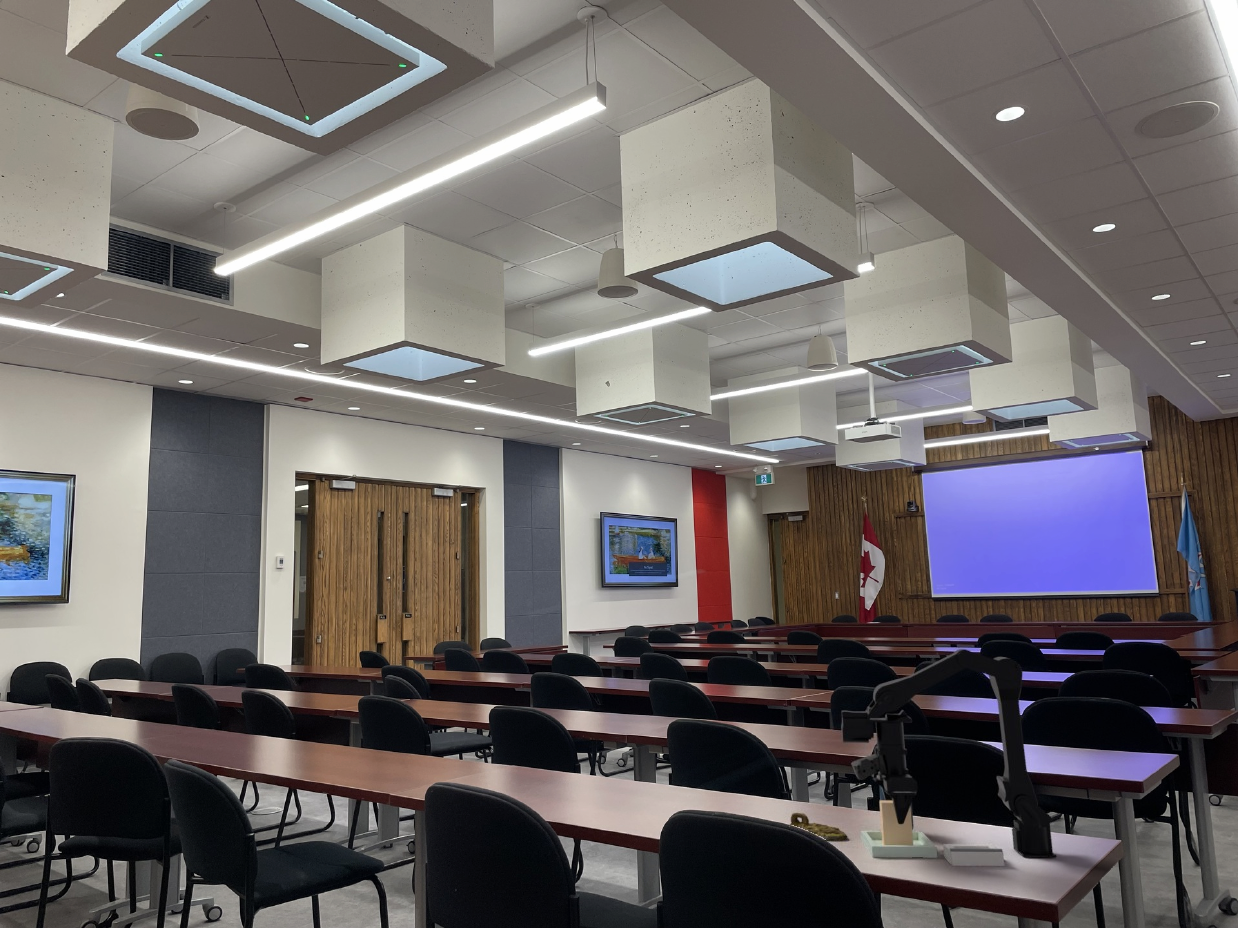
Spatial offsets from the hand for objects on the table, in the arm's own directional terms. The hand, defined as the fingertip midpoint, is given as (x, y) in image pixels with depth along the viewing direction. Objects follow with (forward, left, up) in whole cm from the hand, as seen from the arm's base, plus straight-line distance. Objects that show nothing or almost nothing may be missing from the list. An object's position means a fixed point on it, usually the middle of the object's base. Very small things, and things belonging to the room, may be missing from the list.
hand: (896, 818), depth 185 cm
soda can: (-3, -14, -6) cm, 16 cm away
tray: (0, 0, -6) cm, 6 cm away
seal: (+15, -12, -7) cm, 21 cm away
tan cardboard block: (0, 0, -6) cm, 6 cm away
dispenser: (-13, +9, -6) cm, 17 cm away
